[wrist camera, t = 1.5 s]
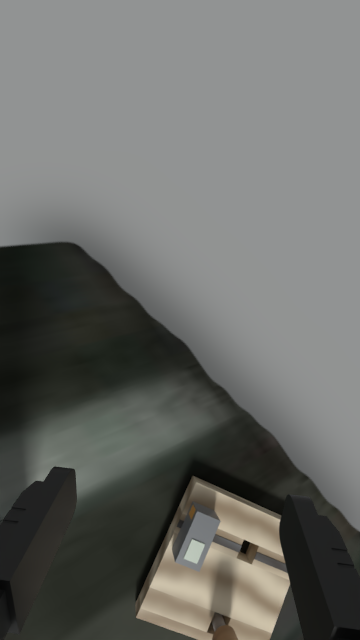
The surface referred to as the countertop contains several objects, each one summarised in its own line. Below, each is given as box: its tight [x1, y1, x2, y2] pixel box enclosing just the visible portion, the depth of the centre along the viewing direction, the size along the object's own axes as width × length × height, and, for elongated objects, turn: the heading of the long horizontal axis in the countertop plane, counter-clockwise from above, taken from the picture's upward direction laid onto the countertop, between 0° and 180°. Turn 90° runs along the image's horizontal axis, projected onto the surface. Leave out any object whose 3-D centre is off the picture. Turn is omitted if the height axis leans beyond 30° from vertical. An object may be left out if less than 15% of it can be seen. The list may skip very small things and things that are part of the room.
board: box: [135, 476, 290, 640], centre depth 49 cm, size 22×24×3 cm
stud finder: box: [172, 501, 221, 572], centre depth 46 cm, size 8×4×3 cm, turn 153°
